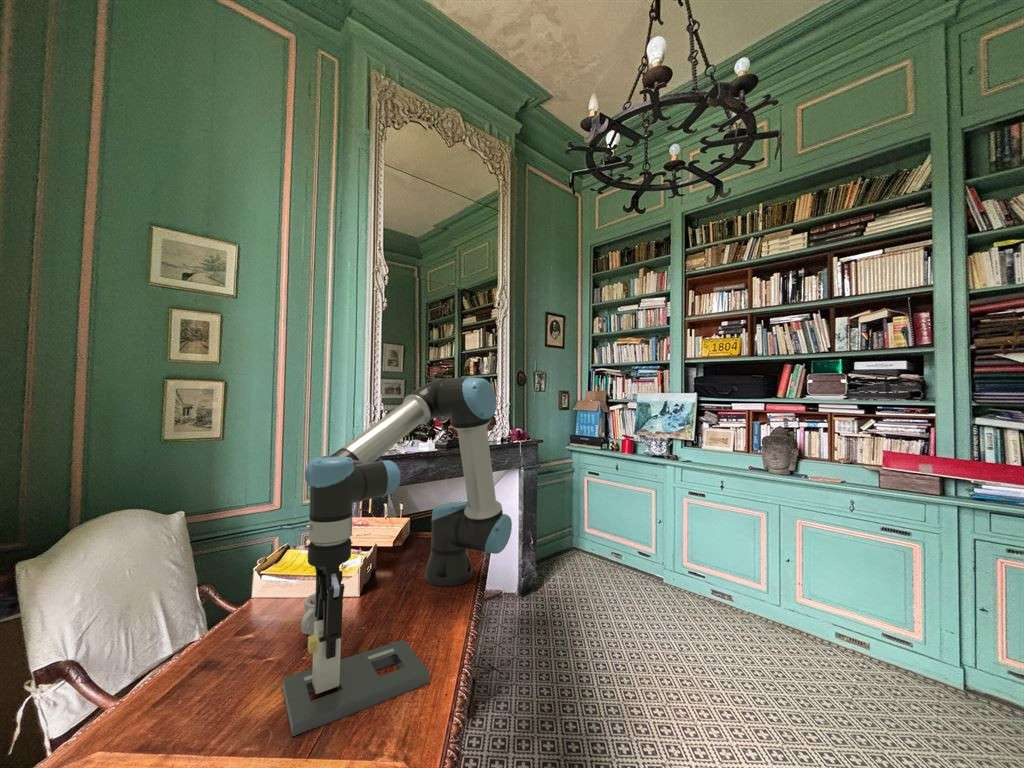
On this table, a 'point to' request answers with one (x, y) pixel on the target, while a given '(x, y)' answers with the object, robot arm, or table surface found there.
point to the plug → (315, 648)
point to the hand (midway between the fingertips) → (326, 666)
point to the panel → (353, 686)
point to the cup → (309, 615)
